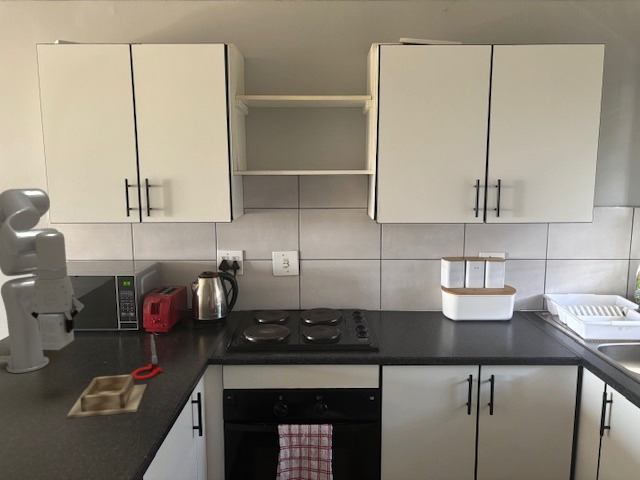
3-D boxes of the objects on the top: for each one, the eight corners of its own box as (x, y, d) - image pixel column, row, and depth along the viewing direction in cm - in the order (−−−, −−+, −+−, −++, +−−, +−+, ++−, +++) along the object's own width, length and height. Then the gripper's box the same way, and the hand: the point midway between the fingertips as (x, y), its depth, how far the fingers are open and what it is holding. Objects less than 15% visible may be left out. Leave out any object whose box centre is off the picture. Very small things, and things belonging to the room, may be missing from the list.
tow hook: (140, 383, 149) (165, 372, 157) (136, 346, 147) (161, 336, 155) (126, 377, 154) (150, 366, 162) (121, 340, 152) (146, 331, 160)
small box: (56, 339, 143) (54, 307, 141) (74, 340, 143) (72, 307, 141) (40, 350, 135) (37, 315, 134) (59, 350, 135) (56, 315, 133)
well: (67, 418, 127) (65, 401, 127) (85, 391, 143) (84, 376, 142) (136, 411, 131) (135, 395, 130) (146, 386, 146) (145, 371, 145)
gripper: (14, 277, 130) (19, 338, 133) (80, 275, 134) (84, 334, 136) (25, 271, 138) (30, 329, 141) (88, 270, 141) (91, 326, 144)
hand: (57, 331), depth 138 cm, fingers closed on small box, 6 cm apart
